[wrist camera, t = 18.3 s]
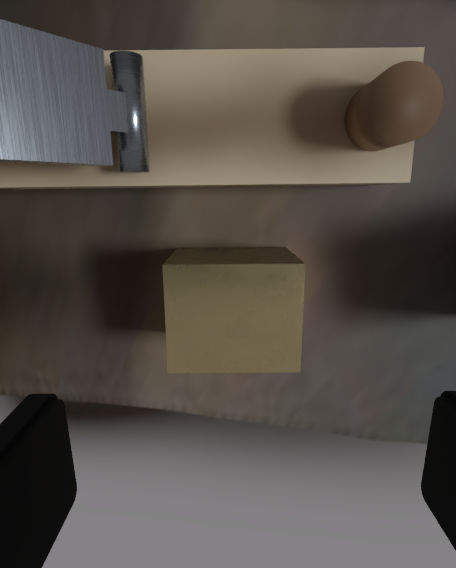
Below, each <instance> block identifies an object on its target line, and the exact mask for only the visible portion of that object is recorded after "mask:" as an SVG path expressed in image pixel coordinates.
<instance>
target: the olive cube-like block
mask: <svg viewBox="0 0 456 568" xmlns="http://www.w3.org/2000/svg"><path fill="white" fill-rule="evenodd" d="M162 266H163V286H164V306H165V326H166V346H167V366H168V373H265V372H300V366H301V345H302V325H303V304H304V283H305V263H304V262H303V261H302V260H300V259H299V258H298V257H297V256H296V255H294V254H293V253H292V252H291V251H290V250H289V249H287V248H286V247H250V248H177V249H176V250H175V251H174V252H173V254H172V255H171V256H170V257H169V258H168V259H167V260H166V261H165V262H164V264H163V265H162Z"/></svg>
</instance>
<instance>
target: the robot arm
mask: <svg viewBox="0 0 456 568" xmlns="http://www.w3.org/2000/svg"><path fill="white" fill-rule="evenodd" d="M421 490H422V495H423V497H424V500H425V502H426V503H427V505H428V507H429V508H430V510H431V512H432V513H433V515H434V516H435V518H436V519H437V521H438V523H439V524H440V526H441V528H442V529H443V531H444V532H445V534H446V536H447V537H448V539H449V540H450V542H451V544H452V545H453V547H454V549H455V550H456V391H444V392H443V393H442V394H441V396H440V397H437V398H436V399H435V402H434V407H433V413H432V420H431V426H430V432H429V438H428V444H427V451H426V457H425V464H424V469H423V476H422V482H421ZM76 491H77V484H76V478H75V471H74V464H73V458H72V451H71V445H70V438H69V431H68V425H67V418H66V411H65V405H64V402H63V400H58V398H57V396H56V395H55V394H30V395H28V396H27V397H26V398H25V399H24V400H23V401H22V402H21V403H20V404H19V405H18V406H17V407H16V408H15V409H14V410H13V411H12V412H11V413H10V415H9V416H8V417H7V418H6V419H5V420H4V421H3V422H2V423H1V424H0V568H42V566H43V564H44V562H45V560H46V558H47V556H48V554H49V552H50V550H51V548H52V546H53V544H54V542H55V540H56V538H57V536H58V533H59V532H60V530H61V528H62V526H63V524H64V521H65V519H66V518H67V515H68V513H69V511H70V509H71V507H72V505H73V503H74V501H75V497H76Z"/></svg>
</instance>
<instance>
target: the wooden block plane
mask: <svg viewBox="0 0 456 568" xmlns="http://www.w3.org/2000/svg"><path fill="white" fill-rule="evenodd" d="M424 49H425V47H410V48H312V49H214V50H116V51H132V52H135V53H138V54H140V55H141V56H142V57H143V68H144V84H145V100H146V117H147V133H148V149H149V166H150V172H148V173H122V172H119V165H118V152H117V140H116V135H111V145H112V157H113V165H111V166H103V167H91V166H70V165H50V164H29V163H9V162H0V189H93V188H180V187H266V186H353V185H383V184H398V183H410V179H411V170H412V161H413V151H414V142H415V140H417V139H419V138H421V137H422V136H424V135H425V134H426V133H428V132H429V131H430V130H431V129H432V128H433V126H434V125H435V124H436V122H437V120H438V119H439V117H440V114H441V112H442V108H443V103H444V91H443V86H442V83H441V80H440V78H439V76H438V75H437V73H436V72H435V71H434V70H433V69H432V68H431V67H429V66H428V65H426V64H424V63H423V59H424ZM112 52H114V51H104V62H105V74H106V86H107V89H110V90H112V78H111V66H110V53H112Z"/></svg>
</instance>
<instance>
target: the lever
mask: <svg viewBox="0 0 456 568" xmlns="http://www.w3.org/2000/svg"><path fill="white" fill-rule="evenodd" d="M110 66H111V78H112V90H110V89H107V86H106V74H105V62H104V51H103V49H101V48H97V47H94V46H90V45H87V44H83V43H80V42H77V41H73V40H70V39H66V38H63V37H60V36H56V35H53V34H49V33H46V32H42V31H39V30H36V29H32V28H29V27H25V26H22V25H18V24H15V23H12V22H8V21H5V20H1V19H0V162H9V163H29V164H50V165H70V166H91V167H103V166H111V165H113V157H112V145H111V135H116V140H117V152H118V165H119V172H122V173H148V172H150V166H149V149H148V133H147V117H146V100H145V84H144V68H143V57H142V56H141V55H140V54H138V53H135V52H132V51H114V52H112V53H110Z"/></svg>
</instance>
